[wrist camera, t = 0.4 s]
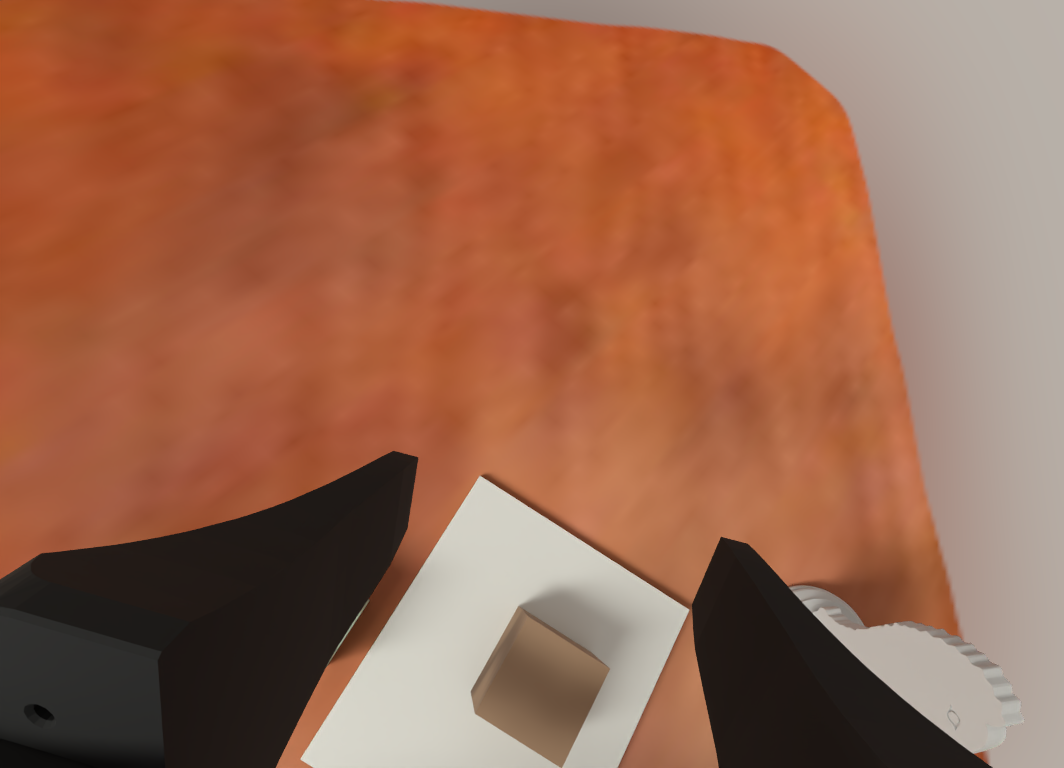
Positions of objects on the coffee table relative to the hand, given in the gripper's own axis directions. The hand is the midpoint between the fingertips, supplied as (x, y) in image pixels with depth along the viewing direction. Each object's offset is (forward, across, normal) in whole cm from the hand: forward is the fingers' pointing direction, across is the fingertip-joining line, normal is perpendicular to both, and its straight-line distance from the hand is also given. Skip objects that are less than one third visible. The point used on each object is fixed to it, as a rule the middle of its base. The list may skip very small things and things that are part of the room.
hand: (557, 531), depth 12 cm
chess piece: (+22, -22, +21) cm, 38 cm away
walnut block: (+16, -2, +23) cm, 28 cm away
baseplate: (+16, -1, +24) cm, 28 cm away
